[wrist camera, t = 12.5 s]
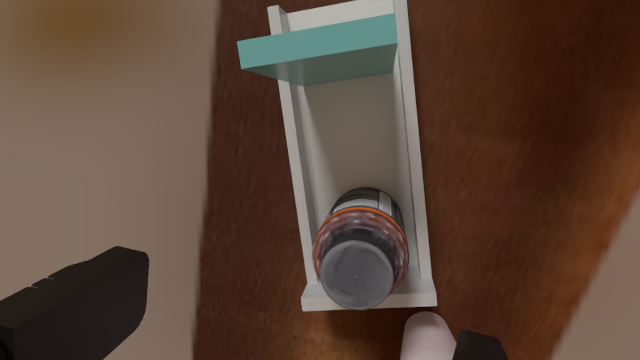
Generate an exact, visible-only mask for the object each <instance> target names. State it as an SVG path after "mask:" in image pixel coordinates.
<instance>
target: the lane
mask: <svg viewBox="0 0 640 360" xmlns="http://www.w3.org/2000/svg"><path fill="white" fill-rule="evenodd" d="M267 9H268V15H269V22H270V29H271V35H276V34H281V33H287V32H292V31H298V30H304V29H309V28H315V27H320V26H326V25H331V24H337V23H342V22H348V21H353V20H359V19H364V18H370V17H375V16H381V15H386V14H392V13H395V19H396V29H397V40H398V45H397V51H396V57H395V63H394V69H393V73H387V74H381V75H374V76H368V77H361V78H354V79H348V80H341V81H335V82H328V83H322V84H315V85H309V86H299V85H296V84H292V83H289V82H285V81H282V80H278V84H279V91H280V98H281V105H282V111H283V118H284V125H285V132H286V139H287V146H288V153H289V159H290V166H291V173H292V180H293V187H294V194H295V201H296V207H297V214H298V221H299V228H300V235H301V242H302V249H303V255H304V262H305V269H306V276H307V283H308V284H307V286H306V288H305V290H304V293H303V295H302V297H301V303H302V310H303V311H320V310H346V309H347V308H344V307H342V306H340V305H338V304H337V303H335V302H334V301H333V300H332V299H330V297H329V296H328V295H327V294H326V292H325V290H324V289H323V287H322V284H321V281H320V280H319V278H318V276H317V274H316V272H315V269H314V266H313V260H312V249H313V244H314V240H315V237H316V235H317V233H318V231H319V229H320V227H321V225H322V224H323V222H324V220H325V218H326V217H327V215H328V213H329V212H330V210H331V208H332V207H333V205H334V203H335V202H336V201H337V200H338V199H339V198H340V197H341V196H342V195H343V194H344V193H346V192H348V191H349V190H352V189H355V188H358V187H373V188H377V189H380V190H381V191H384V192H385V193H387V194H388V195H390V196H391V197H392V198H393V199H394V200H395V201H396V203H397V205H398V206H399V208H400V210H401V213H402V216H403V221H404V227H405V233H406V237H407V242H408V250H409V265H408V271H407V273H406V276H405V278H404V280H403V281H402V284H401V285H400V286H399V287H398V288H397V289H396V290H395V291H394V292H393V293H392V294H390V295H389V296H387V298H386V299H385V300H384V301H383V302H382V303H380V304H379V305H377V306H376V307H373V308H399V307H425V306H437V298H436V291H435V287H434V283H433V280H432V273H431V262H430V251H429V241H428V230H427V219H426V208H425V197H424V186H423V175H422V164H421V153H420V142H419V132H418V121H417V110H416V99H415V88H414V77H413V66H412V55H411V44H410V34H409V23H408V12H407V1H406V0H357V1H351V2H346V3H341V4H336V5H330V6H325V7H320V8H315V9H310V10H304V11H299V12H294V13H289V14H287V13H286V12H285V11H284V10H283V9H282V8H280V7H279V6H278V5H276V6H271V7H267ZM371 309H372V308H371Z"/></svg>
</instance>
